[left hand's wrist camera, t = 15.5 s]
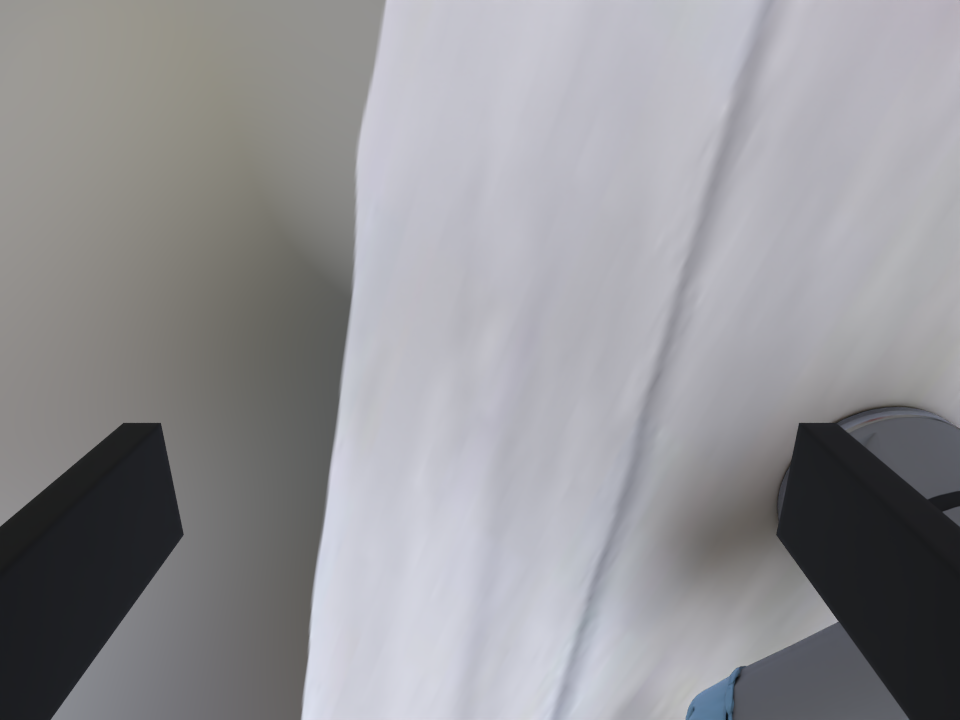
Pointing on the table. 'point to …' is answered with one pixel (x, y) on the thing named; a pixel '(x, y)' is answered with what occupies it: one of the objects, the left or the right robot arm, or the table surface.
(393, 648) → the table surface
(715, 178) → the table surface
